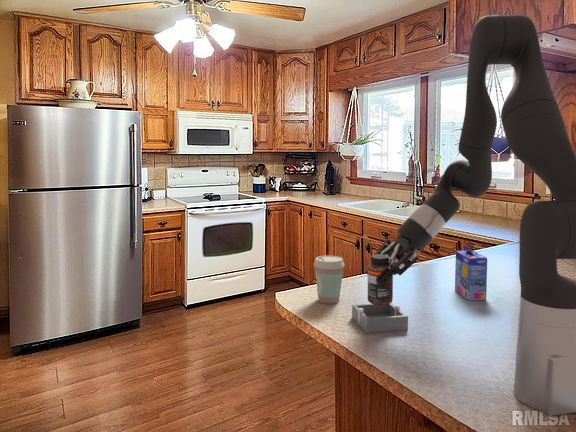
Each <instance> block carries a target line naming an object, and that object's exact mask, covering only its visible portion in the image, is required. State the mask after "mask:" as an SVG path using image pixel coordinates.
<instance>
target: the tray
mask: <svg viewBox="0 0 576 432" xmlns="http://www.w3.org/2000/svg"><path fill="white" fill-rule="evenodd" d="M400 307H401V306H400V305H397V304H396V305H395V304H393V303H392V302H391V303H390V304H387V305H374V304H372V303H360V304H359V303H358V304H352V305H351V319H352V320H354V321H355V322H356V324H357V326H358V327H360V328H361V329H362V330H363V331H364V332H365V333H366V334H373V333H374V334H375V333H387V332H396V331H397V332H398V331H408V330H409V316H408V315H407V314H406V313H405V312H404V311H402V310H401V308H400Z"/></svg>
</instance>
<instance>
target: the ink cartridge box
mask: <svg viewBox="0 0 576 432" xmlns="http://www.w3.org/2000/svg"><path fill="white" fill-rule="evenodd" d="M463 247H464V249H465V250H456V251H455V268H454V270H455V273H454V291H455V292H457V293H458V295H459V294H460V296H462V297H463V298H464V299H465V300H467V301H487V287H488V284H487V282H488V258H487V256H485V255H483V254H479V253H478V252H477V251H475V250H472V249H471V247H469V246H467V245H465V244H463Z"/></svg>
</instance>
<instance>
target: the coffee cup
mask: <svg viewBox="0 0 576 432" xmlns="http://www.w3.org/2000/svg"><path fill="white" fill-rule="evenodd" d="M345 266H346V265H345V262H344V259H343V258H342V257H341V256H338V255H337V256H336V255H319V256H317V257H315V259H314V261H313V267H314V271H315V281H316V290H317V298H318V301H319V303H323V304H330V305H331V304H337V303H339V301H340V299H341V297H340V296H341V290H342V289H341V288H342V283H343V281H342V280H343V273H344V267H345Z"/></svg>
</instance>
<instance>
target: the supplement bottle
mask: <svg viewBox="0 0 576 432" xmlns="http://www.w3.org/2000/svg"><path fill="white" fill-rule="evenodd" d="M388 265H389V256H387V255H382V254H381V253H380V254H377V255H374V254H373V255H371V263H369V265H368V266H367V269H368V275H367V301H368V302H369V304H371V303H372V304H374V305H387V304H390V303H392V302H393V295H394V292H393V291H394V290H393V289H394V288H393V287H394V286H393V285H394V275H393V276H392V277H391V278H390V279H389V280H388V281H387V282H386V283H385V284H384V285H383V286H381V285H380V284H379V283H378V282H377V281H376V278H377V277H378V276H379V275H380V274H381V273H382V272H383V271H384V269H385V268H386V269H387V266H388Z"/></svg>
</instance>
